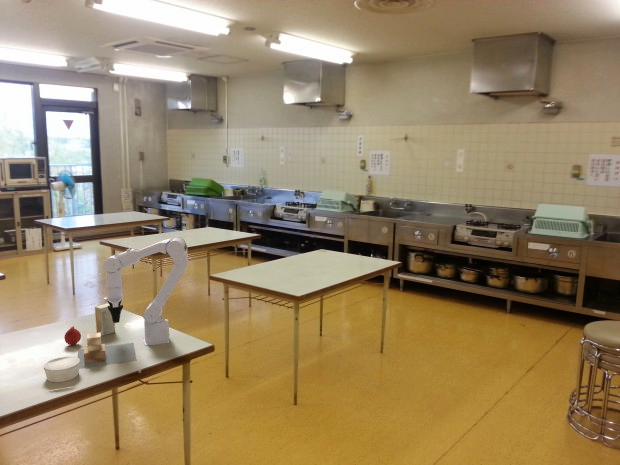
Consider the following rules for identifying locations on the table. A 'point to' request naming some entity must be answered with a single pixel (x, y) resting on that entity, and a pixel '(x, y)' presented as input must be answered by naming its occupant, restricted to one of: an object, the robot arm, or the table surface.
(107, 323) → the skincare box
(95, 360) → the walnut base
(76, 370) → the ramekin
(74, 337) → the onion
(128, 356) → the mat
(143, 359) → the table surface
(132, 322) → the table surface
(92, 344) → the birch block
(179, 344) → the table surface
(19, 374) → the table surface
